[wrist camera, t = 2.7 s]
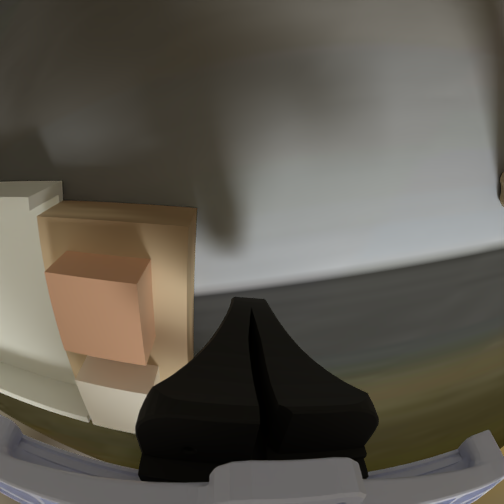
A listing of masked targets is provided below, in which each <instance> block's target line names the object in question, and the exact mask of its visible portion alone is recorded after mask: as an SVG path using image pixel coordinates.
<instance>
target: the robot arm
mask: <svg viewBox="0 0 504 504" xmlns="http://www.w3.org/2000/svg"><path fill="white" fill-rule="evenodd" d="M378 422H379V418H378V415H377V413H376V410H375V407H374V405H373V403H372V401H371V399H370V397H369V395H368V393H366V392H364V391H362V390H360V389H357V388H355V387H353V386H351V385H349V384H347V383H346V382H344V381H342V380H341V379H339V378H337V377H336V376H334V375H333V374H331V373H330V372H328V371H327V370H325V369H324V368H323V367H321V366H320V365H319V364H317V363H316V362H315V361H314V360H313V359H311V358H310V357H309V356H308V355H307V354H306V353H305V352H304V351H303V350H302V349H301V348H300V347H299V346H298V345H297V344H296V343H295V342H294V340H293V339H292V338H291V337H290V336H289V334H288V333H287V332H286V331H285V329H284V328H283V326H282V325H281V324H280V322H279V321H278V319H277V318H276V316H275V315H274V313H273V312H272V310H271V308H270V307H269V305H268V303H267V301H266V300H265V299H256V298H243V297H234V298H232V299H231V304H230V307H229V310H228V312H227V314H226V316H225V318H224V320H223V321H222V323H221V325H220V326H219V328H218V329H217V331H216V332H215V334H214V335H213V337H212V338H211V339H210V340H209V342H208V343H207V344H206V345H205V346H204V348H203V349H202V350H201V351H200V352H199V353H198V354H197V355H196V356H195V357H194V358H193V359H192V360H191V361H189V362H188V363H187V364H186V365H185V366H183V367H182V368H181V369H179V370H178V371H177V372H175V373H174V374H173V375H171V376H170V377H168V378H167V379H165V380H163V381H161V382H160V383H158V384H156V385H155V386H153V387H152V388H151V389H150V391H149V393H148V394H147V396H146V398H145V400H144V402H143V404H142V406H141V409H140V411H139V414H138V418H137V422H136V425H135V434H136V437H137V440H138V443H139V446H140V449H141V452H142V456H141V461H140V466H139V470H138V469H133V468H128V467H123V466H119V465H115V464H111V463H107V462H103V461H99V460H95V459H92V458H88V457H85V456H81V455H78V454H75V453H72V452H69V451H65V450H63V449H60V448H57V447H54V446H51V445H48V444H46V443H43V442H41V441H38V440H35V439H33V438H31V437H28V436H26V435H23V434H22V432H21V430H20V428H19V427H18V426H17V424H16V423H14V422H13V421H12V420H10V419H9V418H7V417H4V416H2V415H0V492H1V493H3V494H4V495H6V496H8V497H10V498H12V499H14V500H15V501H17V502H19V503H21V504H470V503H472V502H474V501H476V500H477V499H478V498H480V497H481V496H483V495H484V494H485V493H486V492H488V491H489V490H490V489H492V488H493V487H494V486H495V485H497V484H498V483H499V482H500V481H502V480H503V479H504V456H503V455H502V453H501V451H500V449H499V447H498V445H497V443H496V441H495V440H494V438H493V436H492V434H491V432H490V431H489V430H486V431H484V432H481V433H478V434H476V435H473V436H471V437H469V438H468V439H466V440H465V441H464V442H463V443H462V444H461V445H460V447H459V448H458V449H456V450H453V451H450V452H447V453H444V454H441V455H438V456H434V457H431V458H428V459H424V460H420V461H417V462H413V463H409V464H405V465H401V466H396V467H392V468H387V469H382V470H377V471H372V472H367V468H366V465H365V461H364V458H365V457H366V454H367V453H366V450H365V447H364V445H365V444H366V442H367V441H368V440H369V438H370V437H371V436H372V434H373V433H374V431H375V430H376V428H377V426H378Z"/></svg>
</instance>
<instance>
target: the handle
mask: <svg viewBox="0 0 504 504" xmlns="http://www.w3.org/2000/svg"><path fill="white" fill-rule="evenodd" d="M500 183H501V195H500V202H501V204H502V206H503V207H504V172H503V173H502V175H501V177H500Z"/></svg>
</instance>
